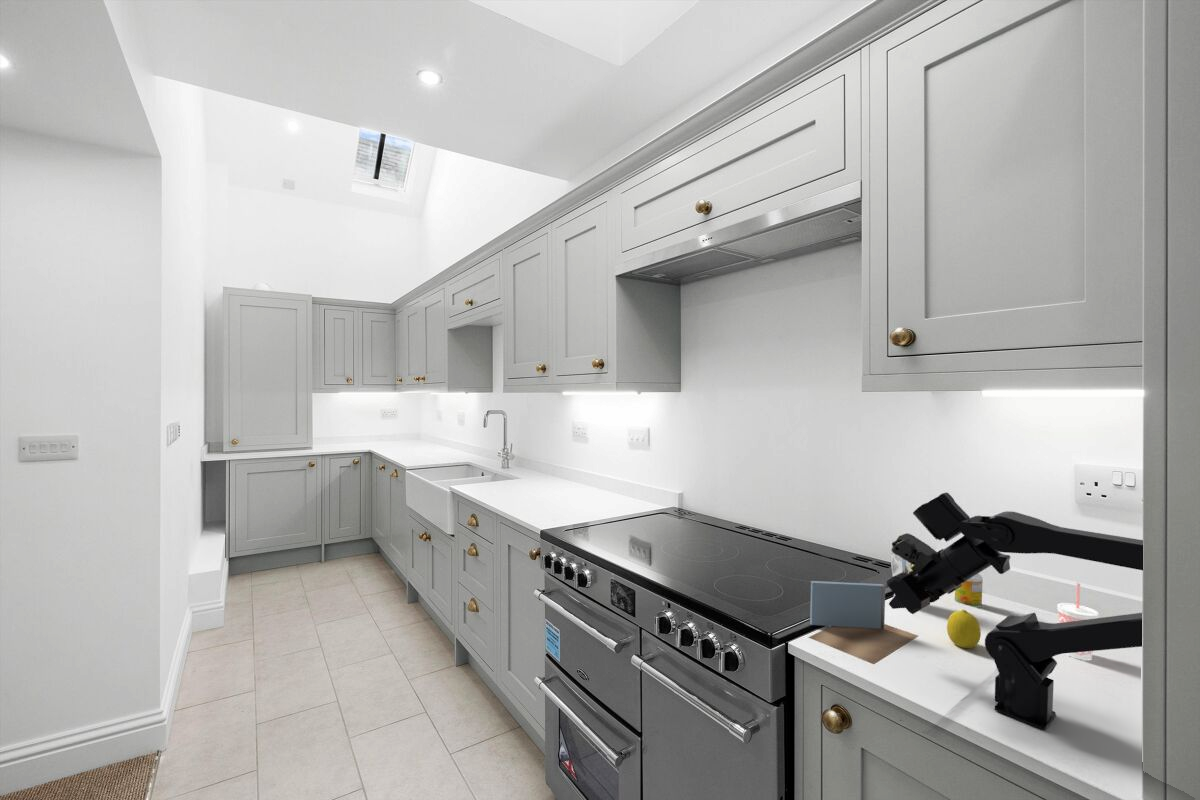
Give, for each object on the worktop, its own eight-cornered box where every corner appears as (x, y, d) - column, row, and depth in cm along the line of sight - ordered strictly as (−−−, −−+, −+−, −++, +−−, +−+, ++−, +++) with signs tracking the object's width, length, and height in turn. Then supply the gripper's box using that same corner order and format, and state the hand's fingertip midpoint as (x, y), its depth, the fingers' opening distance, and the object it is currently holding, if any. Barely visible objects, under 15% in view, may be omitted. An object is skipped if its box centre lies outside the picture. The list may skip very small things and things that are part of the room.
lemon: (985, 658, 104) (986, 617, 104) (953, 655, 105) (954, 614, 105) (971, 644, 109) (973, 605, 109) (941, 641, 110) (942, 603, 110)
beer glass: (885, 600, 132) (886, 539, 131) (915, 602, 131) (917, 540, 130) (896, 612, 125) (898, 547, 124) (929, 614, 124) (931, 549, 123)
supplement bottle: (949, 600, 132) (950, 560, 132) (969, 599, 133) (970, 560, 133) (966, 609, 127) (967, 568, 127) (987, 608, 128) (988, 567, 127)
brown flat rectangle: (918, 640, 111) (918, 635, 111) (873, 669, 99) (873, 663, 99) (855, 618, 121) (855, 613, 121) (808, 642, 110) (808, 637, 109)
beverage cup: (1057, 643, 110) (1059, 575, 110) (1098, 654, 106) (1100, 583, 105) (1053, 654, 106) (1056, 583, 105) (1096, 666, 101) (1099, 592, 101)
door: (885, 628, 113) (886, 586, 113) (811, 624, 115) (812, 582, 114) (880, 624, 115) (881, 582, 115) (808, 620, 117) (809, 579, 116)
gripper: (944, 516, 104) (884, 559, 113) (899, 531, 92) (836, 577, 101) (992, 567, 98) (924, 609, 106) (950, 590, 86) (879, 634, 95)
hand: (891, 605), depth 102 cm, fingers closed
